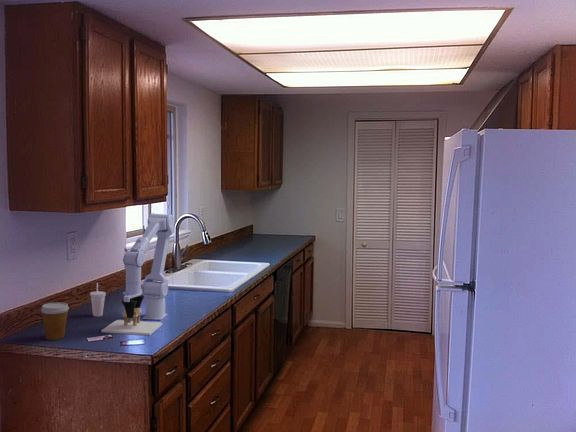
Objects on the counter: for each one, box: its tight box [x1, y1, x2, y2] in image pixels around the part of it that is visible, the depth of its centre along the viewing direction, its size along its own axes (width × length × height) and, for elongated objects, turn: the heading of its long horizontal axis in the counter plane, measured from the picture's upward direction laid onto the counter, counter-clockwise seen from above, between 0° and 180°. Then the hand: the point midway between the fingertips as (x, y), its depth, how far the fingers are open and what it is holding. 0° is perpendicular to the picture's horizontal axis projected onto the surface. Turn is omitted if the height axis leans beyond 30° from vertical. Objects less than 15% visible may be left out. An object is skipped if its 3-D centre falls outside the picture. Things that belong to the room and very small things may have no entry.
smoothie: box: [89, 282, 107, 318], centre depth 236 cm, size 6×6×14 cm
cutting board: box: [101, 319, 163, 336], centre depth 219 cm, size 15×19×1 cm
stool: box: [122, 307, 142, 326], centre depth 219 cm, size 5×5×6 cm
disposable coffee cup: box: [40, 302, 70, 341], centre depth 204 cm, size 10×10×12 cm
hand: (132, 315), depth 219 cm, fingers closed on stool, 5 cm apart
